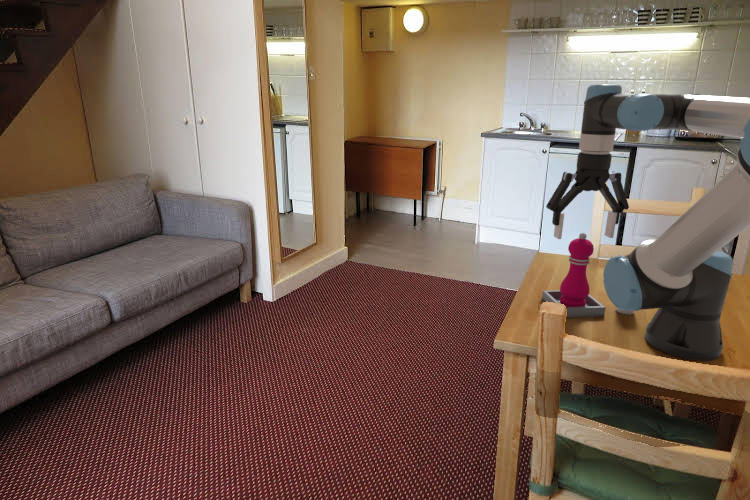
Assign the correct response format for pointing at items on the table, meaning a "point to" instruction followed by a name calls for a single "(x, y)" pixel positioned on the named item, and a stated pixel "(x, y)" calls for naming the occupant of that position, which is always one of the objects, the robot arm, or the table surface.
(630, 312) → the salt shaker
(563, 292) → the pepper mill
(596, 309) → the tray
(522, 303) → the table surface
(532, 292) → the table surface
